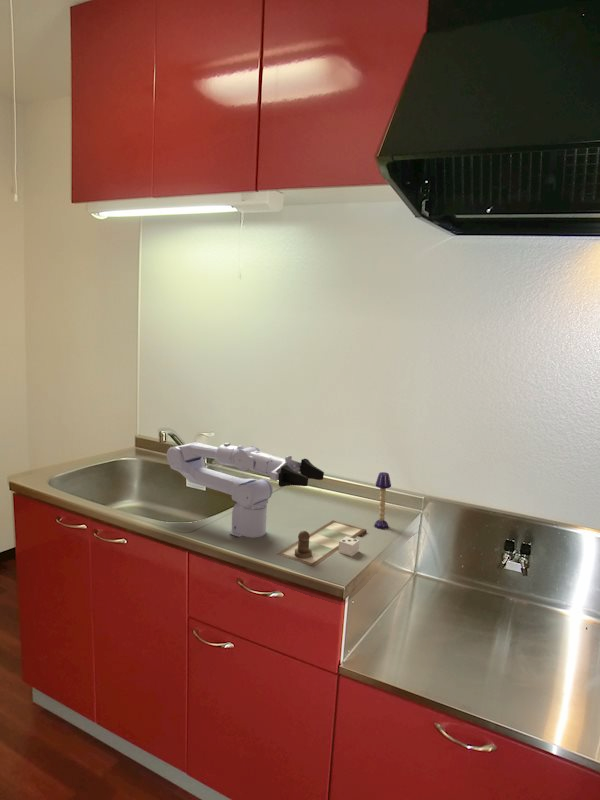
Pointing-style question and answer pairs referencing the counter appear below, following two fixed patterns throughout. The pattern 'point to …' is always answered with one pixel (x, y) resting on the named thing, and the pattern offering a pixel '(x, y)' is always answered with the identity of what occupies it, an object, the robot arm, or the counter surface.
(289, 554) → the game board
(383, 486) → the toy lamp
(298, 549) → the pawn
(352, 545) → the die
